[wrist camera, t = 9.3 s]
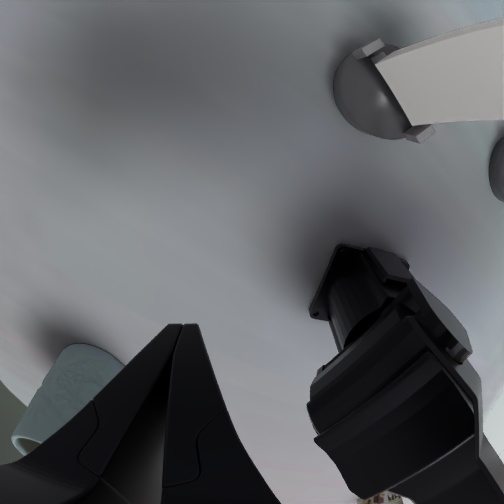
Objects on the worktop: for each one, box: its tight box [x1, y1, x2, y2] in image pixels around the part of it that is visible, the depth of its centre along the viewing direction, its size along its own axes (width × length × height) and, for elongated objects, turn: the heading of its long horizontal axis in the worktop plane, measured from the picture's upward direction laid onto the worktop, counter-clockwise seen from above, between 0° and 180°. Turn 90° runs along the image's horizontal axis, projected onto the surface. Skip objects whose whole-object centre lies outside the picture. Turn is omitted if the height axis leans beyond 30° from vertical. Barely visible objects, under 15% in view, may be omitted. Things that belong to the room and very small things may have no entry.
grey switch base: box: [333, 38, 436, 144], centre depth 15 cm, size 6×6×4 cm
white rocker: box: [371, 18, 504, 126], centre depth 10 cm, size 2×5×10 cm, turn 38°
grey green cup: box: [12, 344, 124, 456], centre depth 23 cm, size 10×10×12 cm
